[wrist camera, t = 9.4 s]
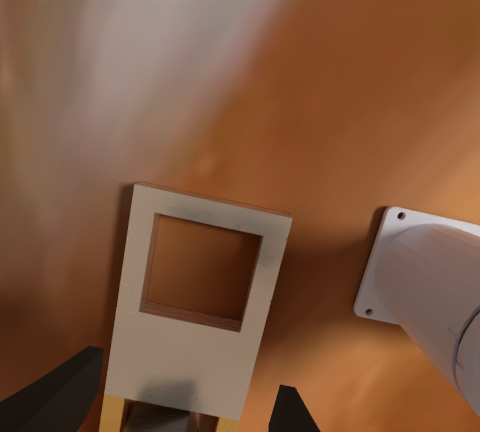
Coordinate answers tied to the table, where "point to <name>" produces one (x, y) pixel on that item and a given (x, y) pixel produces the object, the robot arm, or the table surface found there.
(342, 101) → the table surface
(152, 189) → the plate with square hole
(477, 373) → the robot arm
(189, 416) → the grey knobbed block
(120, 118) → the table surface
